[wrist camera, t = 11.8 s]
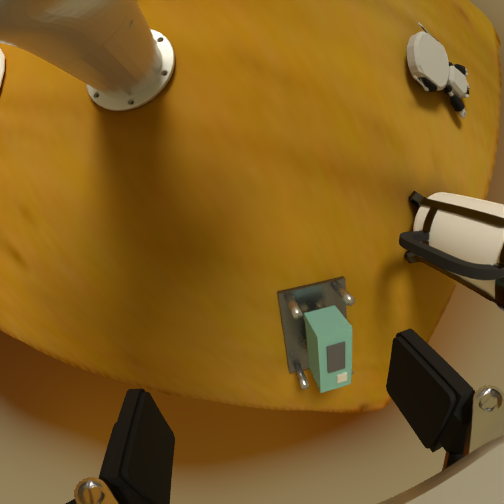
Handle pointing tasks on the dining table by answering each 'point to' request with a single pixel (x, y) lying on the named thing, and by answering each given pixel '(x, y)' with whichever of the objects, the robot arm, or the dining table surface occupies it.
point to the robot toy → (436, 69)
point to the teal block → (329, 347)
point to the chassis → (294, 323)
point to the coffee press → (460, 241)
